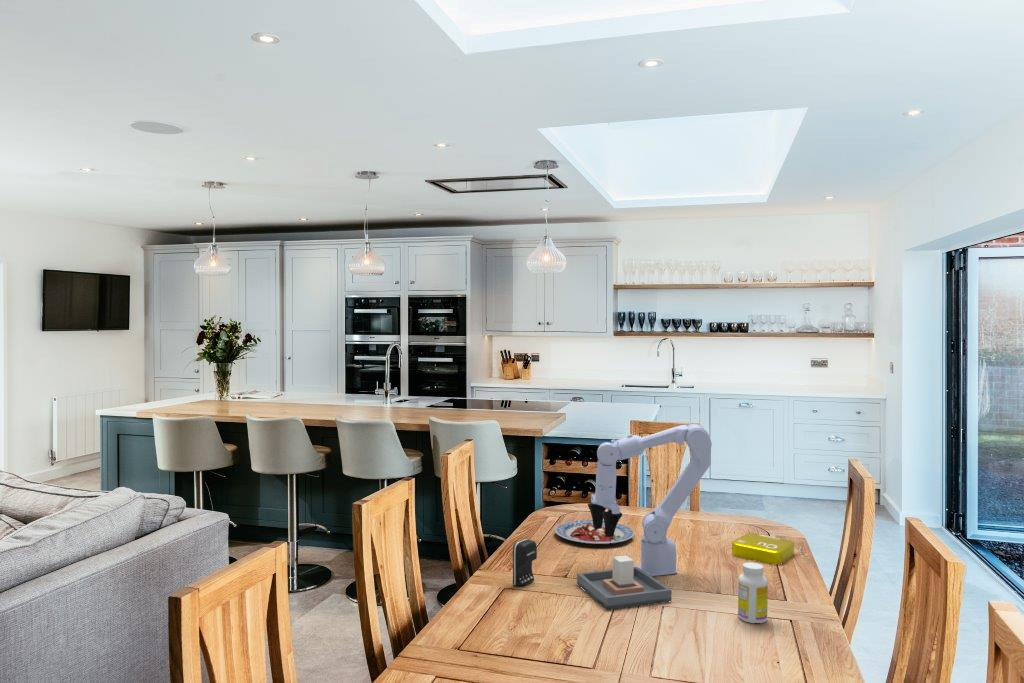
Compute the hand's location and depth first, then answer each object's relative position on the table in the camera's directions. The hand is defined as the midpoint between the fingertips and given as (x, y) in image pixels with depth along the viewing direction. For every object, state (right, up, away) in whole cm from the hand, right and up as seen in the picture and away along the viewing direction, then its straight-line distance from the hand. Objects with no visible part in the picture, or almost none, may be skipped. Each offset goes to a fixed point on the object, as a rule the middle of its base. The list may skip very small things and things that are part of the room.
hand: (603, 532), depth 205 cm
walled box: (+3, -11, -18) cm, 21 cm away
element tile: (+51, -11, +14) cm, 54 cm away
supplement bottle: (+31, -12, -34) cm, 48 cm away
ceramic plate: (+1, -10, +31) cm, 33 cm away
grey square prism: (+3, -10, -18) cm, 21 cm away
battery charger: (-23, -11, -12) cm, 28 cm away
